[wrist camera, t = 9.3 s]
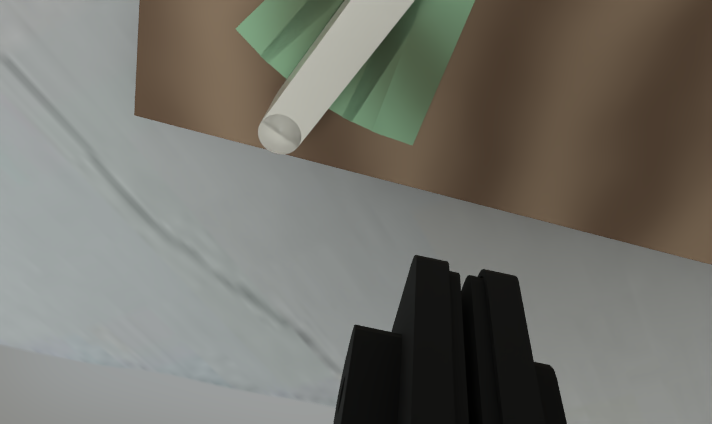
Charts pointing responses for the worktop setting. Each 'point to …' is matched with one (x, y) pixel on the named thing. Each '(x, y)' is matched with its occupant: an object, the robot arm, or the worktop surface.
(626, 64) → the dial board
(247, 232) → the worktop surface
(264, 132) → the pointer
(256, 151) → the worktop surface
